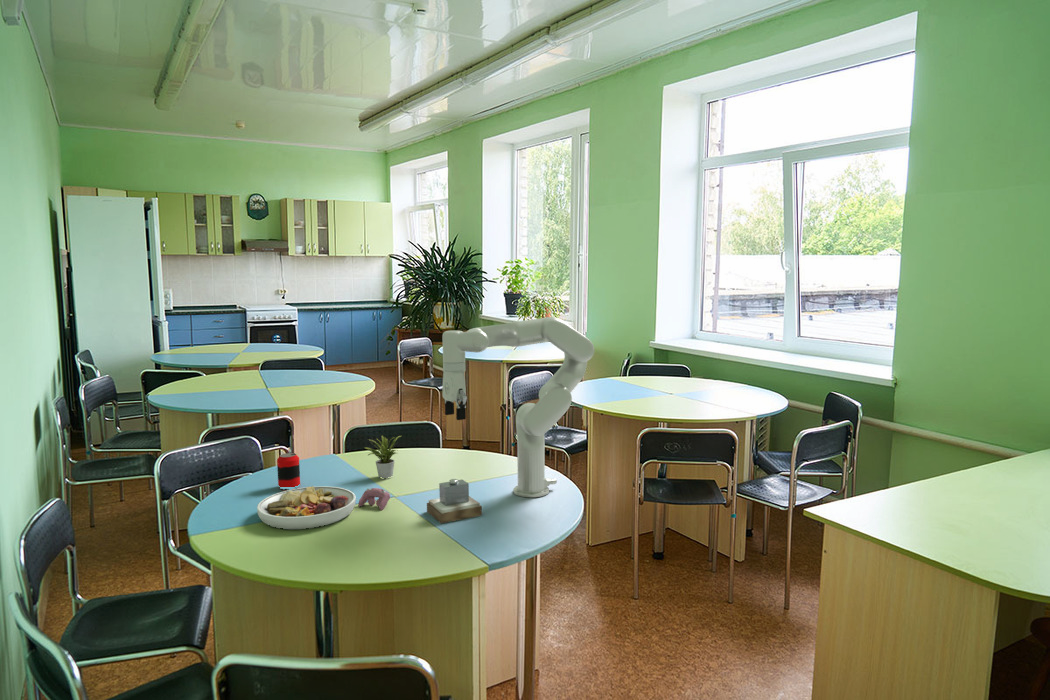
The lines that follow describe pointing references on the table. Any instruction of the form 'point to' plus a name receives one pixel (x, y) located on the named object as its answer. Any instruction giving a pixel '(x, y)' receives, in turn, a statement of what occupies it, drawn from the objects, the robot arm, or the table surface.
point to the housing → (454, 492)
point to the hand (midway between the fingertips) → (455, 417)
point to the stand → (454, 510)
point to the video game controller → (371, 495)
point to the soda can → (288, 470)
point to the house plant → (384, 457)
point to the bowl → (306, 507)
